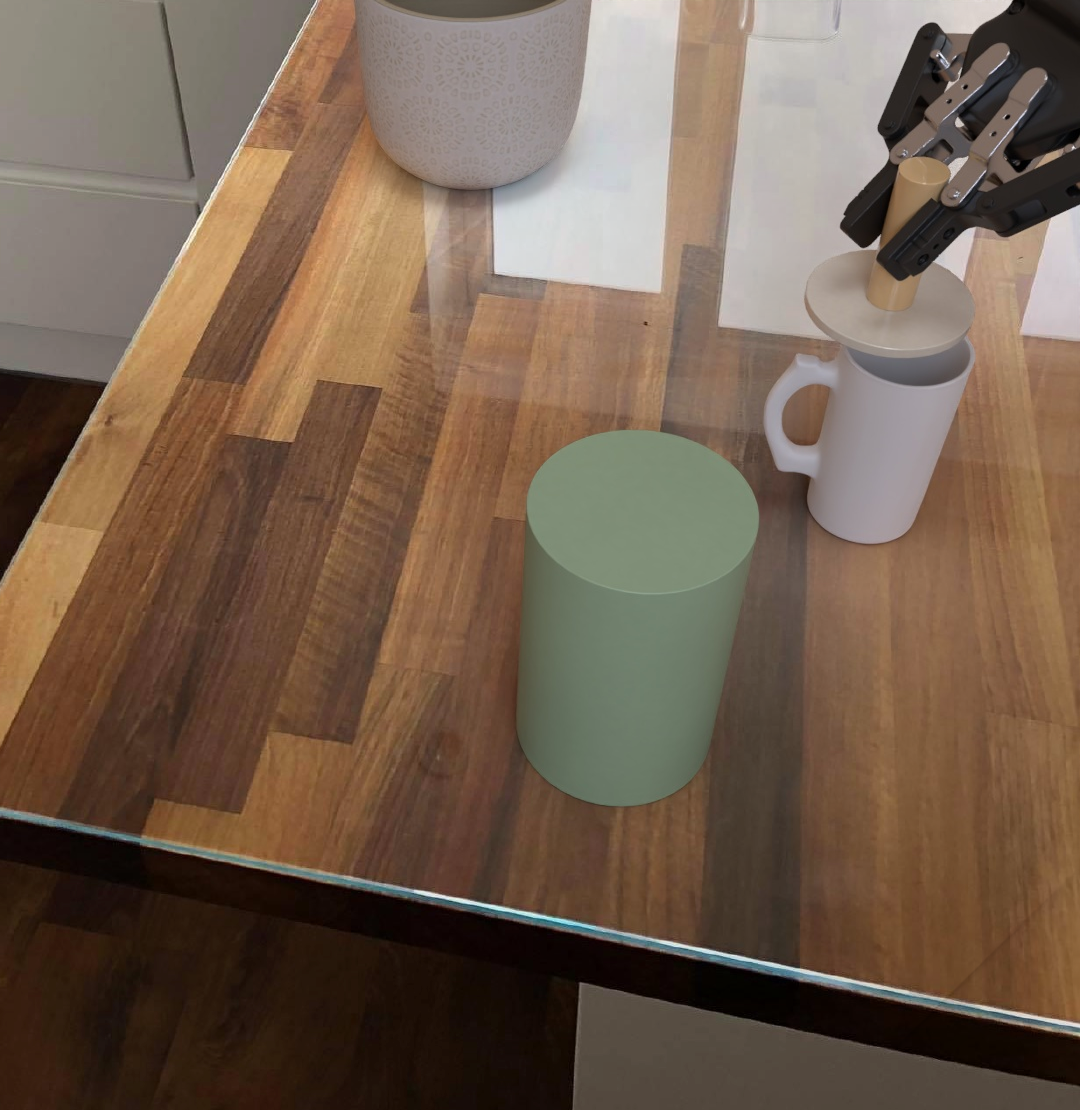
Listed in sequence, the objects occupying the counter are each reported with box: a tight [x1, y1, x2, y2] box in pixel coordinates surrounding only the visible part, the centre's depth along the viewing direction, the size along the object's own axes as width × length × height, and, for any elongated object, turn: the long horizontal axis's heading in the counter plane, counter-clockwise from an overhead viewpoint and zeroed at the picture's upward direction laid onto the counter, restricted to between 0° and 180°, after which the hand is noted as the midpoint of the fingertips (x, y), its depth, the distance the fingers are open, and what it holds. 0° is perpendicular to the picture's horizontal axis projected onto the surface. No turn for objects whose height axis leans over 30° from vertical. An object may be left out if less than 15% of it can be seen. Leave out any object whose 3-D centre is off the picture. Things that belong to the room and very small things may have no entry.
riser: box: [515, 429, 760, 807], centre depth 66 cm, size 10×10×16 cm
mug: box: [762, 335, 976, 545], centre depth 78 cm, size 10×7×12 cm, turn 82°
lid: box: [803, 157, 976, 358], centre depth 69 cm, size 8×8×8 cm
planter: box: [353, 0, 593, 191], centre depth 104 cm, size 17×17×15 cm
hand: (870, 253), depth 68 cm, fingers closed on lid, 2 cm apart
